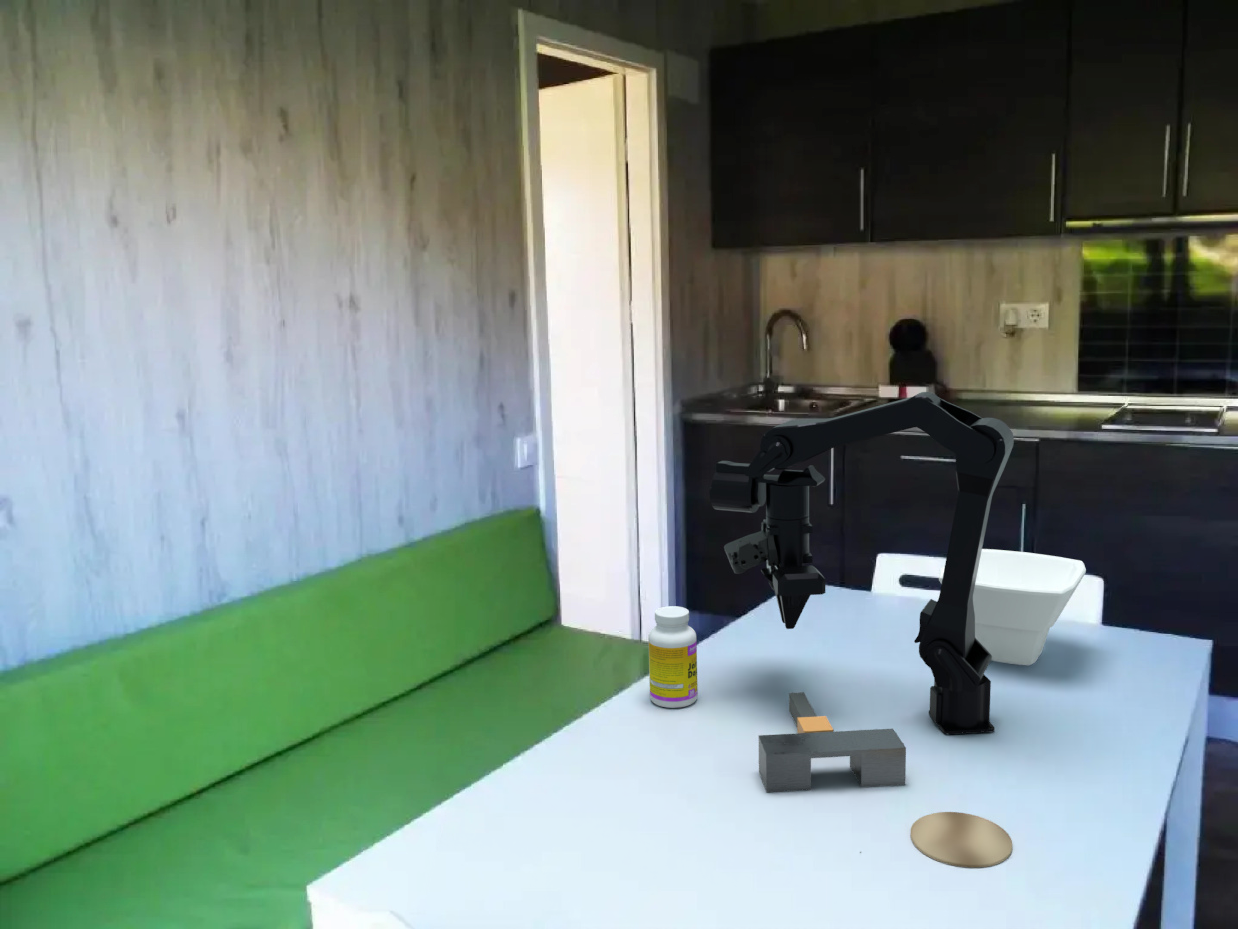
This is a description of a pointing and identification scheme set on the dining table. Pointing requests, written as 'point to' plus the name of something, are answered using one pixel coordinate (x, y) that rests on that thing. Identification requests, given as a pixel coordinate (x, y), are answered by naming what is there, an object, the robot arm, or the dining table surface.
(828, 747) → the grey notched block
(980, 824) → the coaster
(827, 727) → the tan block with bar
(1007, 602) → the bowl
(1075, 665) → the dining table surface
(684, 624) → the supplement bottle
